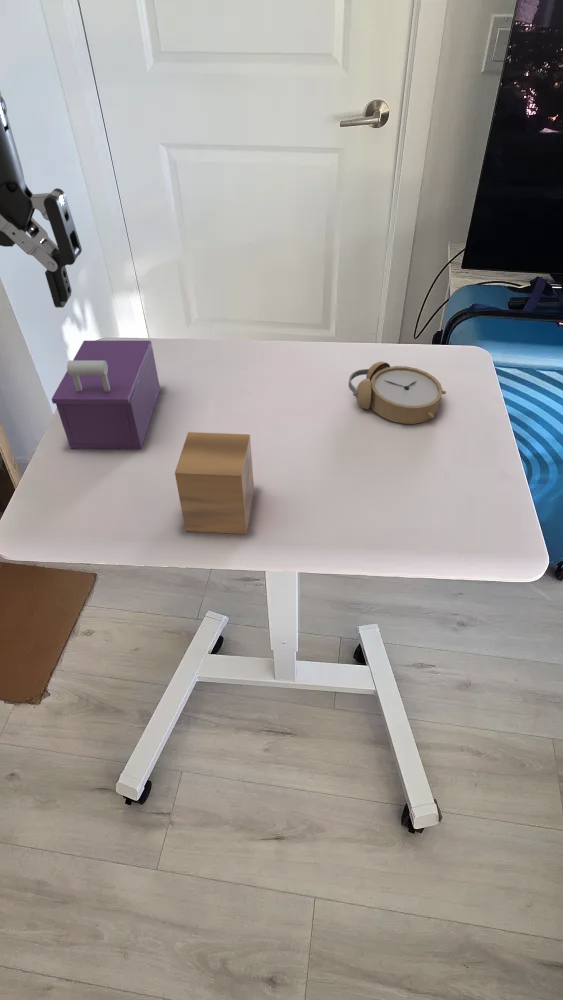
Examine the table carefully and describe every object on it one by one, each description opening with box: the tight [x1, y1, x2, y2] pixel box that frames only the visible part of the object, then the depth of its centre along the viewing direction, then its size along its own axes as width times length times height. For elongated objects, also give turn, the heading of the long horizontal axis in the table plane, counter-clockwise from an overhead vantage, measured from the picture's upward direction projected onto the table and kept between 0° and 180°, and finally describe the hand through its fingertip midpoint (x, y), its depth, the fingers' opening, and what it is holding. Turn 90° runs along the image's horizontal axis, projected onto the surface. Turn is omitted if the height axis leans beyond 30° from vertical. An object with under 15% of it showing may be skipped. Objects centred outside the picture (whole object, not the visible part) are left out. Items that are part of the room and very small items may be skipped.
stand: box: [174, 431, 255, 535], centre depth 80 cm, size 8×8×10 cm
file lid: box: [51, 340, 153, 405], centre depth 91 cm, size 17×11×5 cm, turn 178°
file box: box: [55, 345, 161, 450], centre depth 96 cm, size 16×11×8 cm
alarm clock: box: [348, 361, 447, 425], centre depth 99 cm, size 11×5×15 cm
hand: (20, 304), depth 62 cm, fingers open, 8 cm apart
